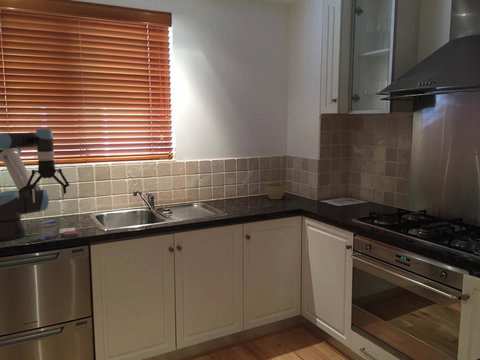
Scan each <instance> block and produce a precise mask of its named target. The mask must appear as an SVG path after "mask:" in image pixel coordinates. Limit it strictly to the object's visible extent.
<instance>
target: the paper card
mask: <svg viewBox="0 0 480 360" xmlns="http://www.w3.org/2000/svg"><path fill="white" fill-rule="evenodd" d="M76 230H77V231H78V226H76V225H75V226H65V227H58V228H57V235H64V232H66V231H76Z"/></svg>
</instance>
